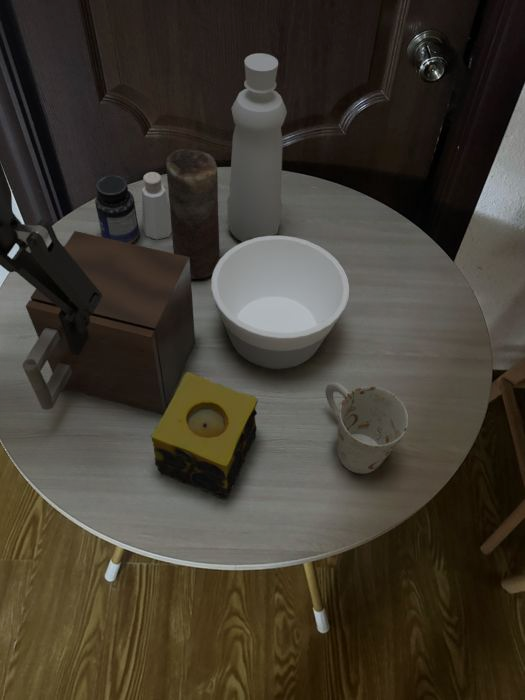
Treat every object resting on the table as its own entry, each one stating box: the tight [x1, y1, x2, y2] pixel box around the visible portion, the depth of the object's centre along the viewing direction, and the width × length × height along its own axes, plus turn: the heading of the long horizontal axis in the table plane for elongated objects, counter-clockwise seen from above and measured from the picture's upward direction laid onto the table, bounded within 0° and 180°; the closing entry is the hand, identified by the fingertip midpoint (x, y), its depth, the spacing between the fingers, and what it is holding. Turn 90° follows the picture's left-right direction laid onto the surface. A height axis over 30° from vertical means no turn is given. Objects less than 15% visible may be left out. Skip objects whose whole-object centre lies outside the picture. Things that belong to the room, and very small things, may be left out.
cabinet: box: [30, 230, 196, 408], centre depth 82 cm, size 12×16×18 cm
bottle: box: [226, 52, 288, 243], centre depth 95 cm, size 9×9×30 cm
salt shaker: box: [141, 171, 172, 241], centre depth 101 cm, size 5×5×11 cm
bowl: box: [210, 235, 350, 370], centre depth 89 cm, size 19×19×11 cm
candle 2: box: [150, 371, 259, 500], centre depth 77 cm, size 10×10×10 cm
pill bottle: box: [94, 174, 140, 245], centre depth 100 cm, size 6×6×11 cm
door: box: [22, 299, 167, 415], centre depth 77 cm, size 7×16×17 cm, turn 75°
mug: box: [325, 381, 409, 475], centre depth 79 cm, size 8×13×10 cm, turn 36°
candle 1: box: [165, 148, 221, 280], centre depth 93 cm, size 8×7×20 cm
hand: (22, 331), depth 67 cm, fingers open, 13 cm apart
